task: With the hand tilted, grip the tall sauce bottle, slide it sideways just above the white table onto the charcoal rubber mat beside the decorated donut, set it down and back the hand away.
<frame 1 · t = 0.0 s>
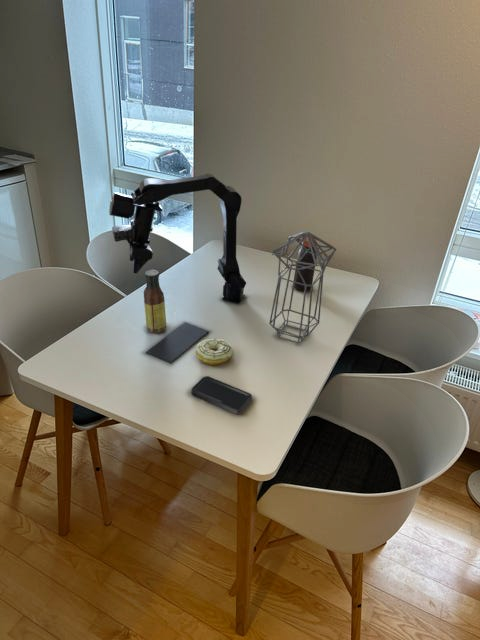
hand: (133, 266, 153), 15 cm above the table, tool pointing down, fingers open, 9 cm apart
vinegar: (302, 288, 181), on the table
decorated donut: (214, 356, 141), on the table
geometric lantern: (291, 335, 153), on the table
phone: (221, 396, 126), on the table
sauce bottle: (155, 329, 151), on the table
mat: (178, 342, 146), on the table
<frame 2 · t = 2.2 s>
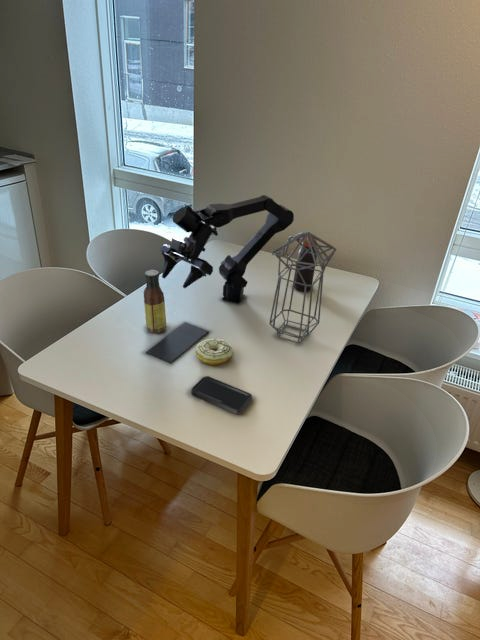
hand: (173, 282, 150), 13 cm above the table, tool tilted 45°, fingers open, 9 cm apart
nothing on the table moved.
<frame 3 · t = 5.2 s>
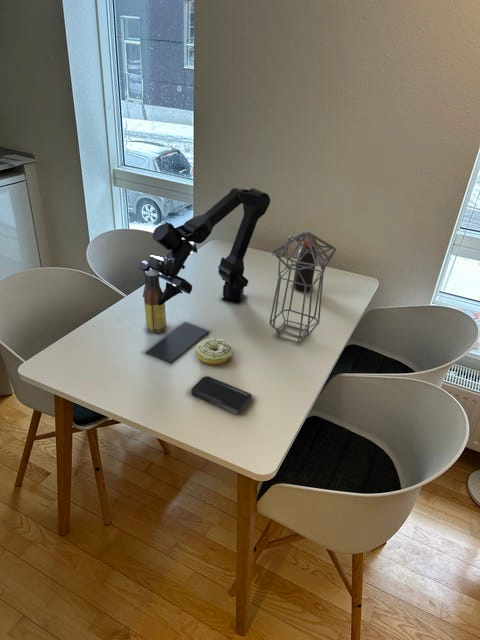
hand: (151, 301, 145), 11 cm above the table, tool tilted 45°, fingers closed on sauce bottle, 6 cm apart
sauce bottle: (155, 329, 151), on the table, touching gripper
everything else where it was.
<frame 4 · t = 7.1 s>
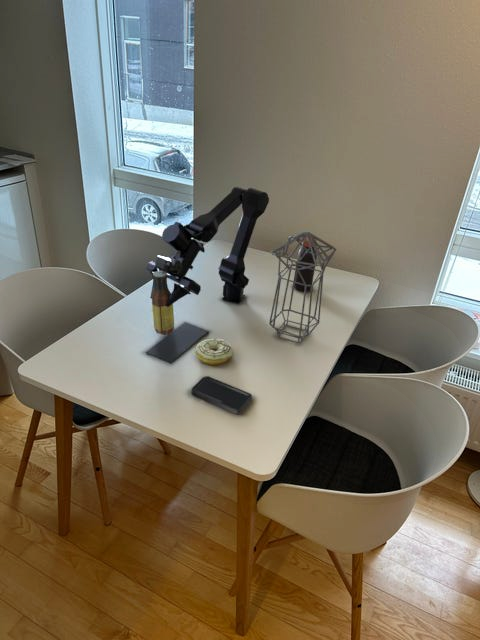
hand: (158, 302, 142), 12 cm above the table, tool tilted 45°, fingers closed on sauce bottle, 6 cm apart
sauce bottle: (163, 330, 149), point 1 cm above the table, touching gripper
everything else where it was.
when the fingers open (11 cm above the table, at t = 9.6 s): sauce bottle stays where it is, resting on mat.
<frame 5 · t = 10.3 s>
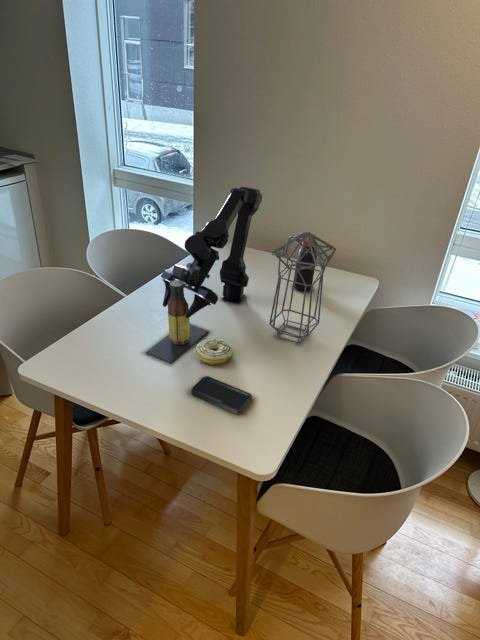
hand: (174, 312, 139), 11 cm above the table, tool tilted 45°, fingers open, 9 cm apart
sauce bottle: (179, 341, 146), resting on mat
everything else where it was.
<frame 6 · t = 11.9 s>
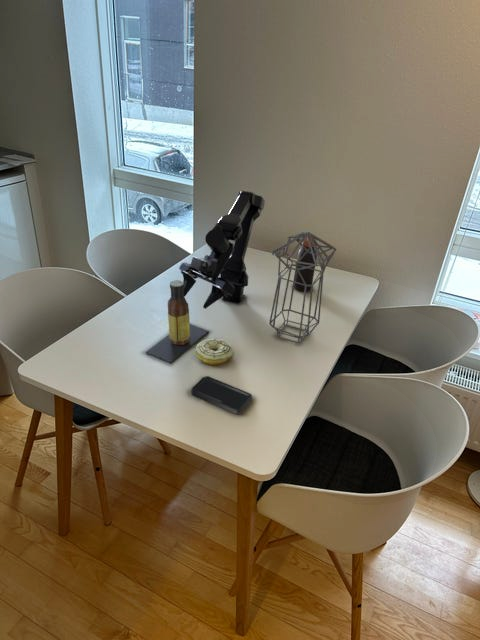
hand: (192, 302, 144), 11 cm above the table, tool tilted 45°, fingers open, 9 cm apart
nothing on the table moved.
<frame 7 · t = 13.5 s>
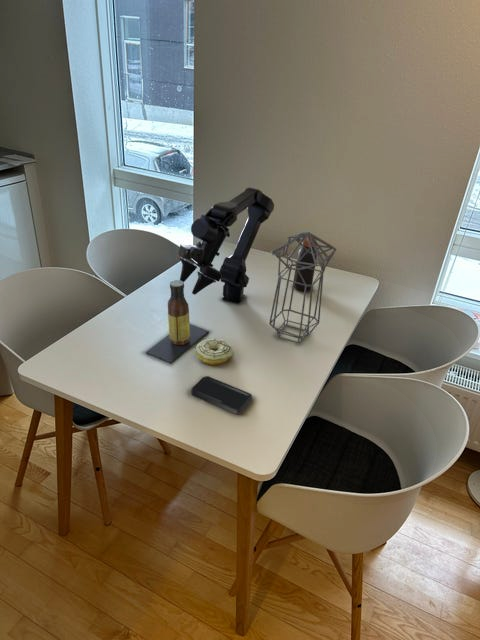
hand: (186, 288, 149), 12 cm above the table, tool tilted 35°, fingers open, 9 cm apart
nothing on the table moved.
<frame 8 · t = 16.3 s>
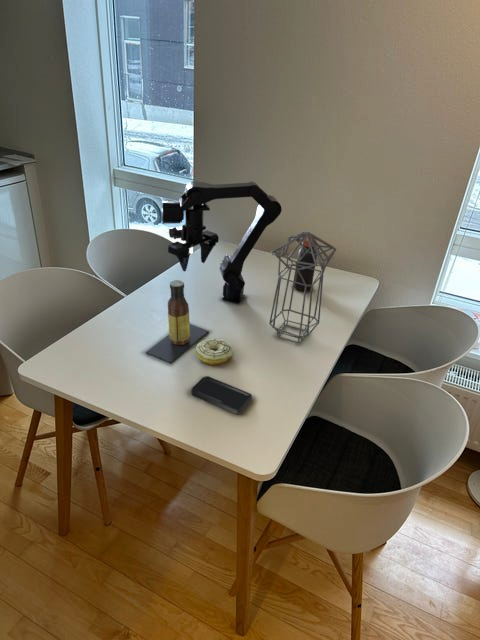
hand: (193, 266, 161), 13 cm above the table, tool pointing down, fingers open, 9 cm apart
nothing on the table moved.
at the end: sauce bottle inside the target area on the mat (0.3 cm from its centre), point 0.2 cm above the mat's base; sauce bottle tilted 0°; sauce bottle 12.9 cm from the decorated donut (horizontally) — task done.
